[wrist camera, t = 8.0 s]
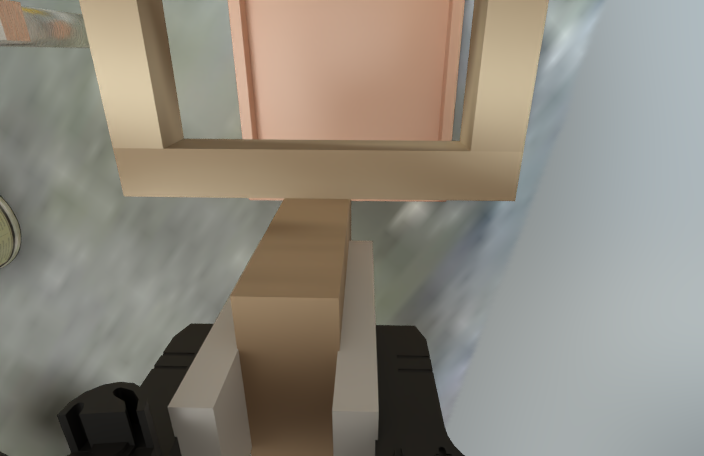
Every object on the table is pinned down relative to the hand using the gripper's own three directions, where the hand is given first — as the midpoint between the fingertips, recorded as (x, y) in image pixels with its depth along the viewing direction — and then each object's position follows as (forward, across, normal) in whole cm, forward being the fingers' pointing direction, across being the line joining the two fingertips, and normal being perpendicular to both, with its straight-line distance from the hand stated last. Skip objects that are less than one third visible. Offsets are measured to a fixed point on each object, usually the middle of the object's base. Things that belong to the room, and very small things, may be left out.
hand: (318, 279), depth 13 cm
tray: (+23, 0, -6) cm, 24 cm away
